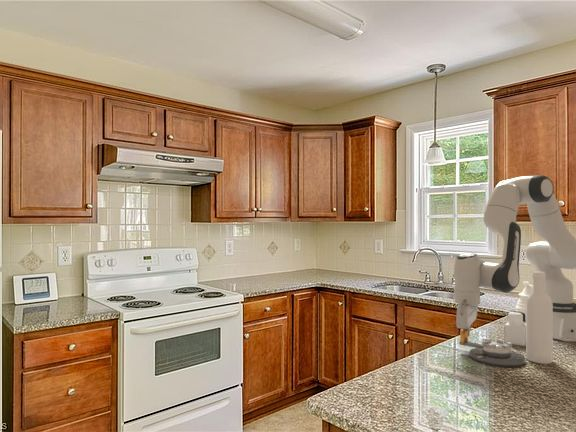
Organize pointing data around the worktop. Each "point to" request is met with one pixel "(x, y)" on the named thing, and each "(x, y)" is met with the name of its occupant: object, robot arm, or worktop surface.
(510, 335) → the medicine bottle
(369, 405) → the worktop surface
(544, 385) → the worktop surface
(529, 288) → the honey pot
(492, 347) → the crank handle dial
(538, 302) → the bottle
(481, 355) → the flange
